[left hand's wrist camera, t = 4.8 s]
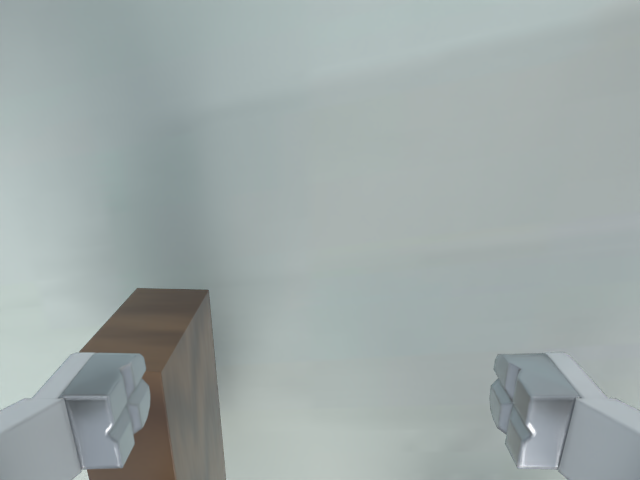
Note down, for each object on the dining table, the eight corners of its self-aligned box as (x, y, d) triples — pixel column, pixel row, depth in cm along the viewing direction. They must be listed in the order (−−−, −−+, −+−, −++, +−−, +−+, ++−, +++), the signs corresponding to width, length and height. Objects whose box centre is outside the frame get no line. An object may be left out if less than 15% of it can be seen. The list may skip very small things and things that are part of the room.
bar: (136, 287, 31) (62, 369, 23) (208, 289, 31) (160, 372, 23) (174, 530, 40) (130, 655, 31) (231, 532, 39) (202, 658, 31)
